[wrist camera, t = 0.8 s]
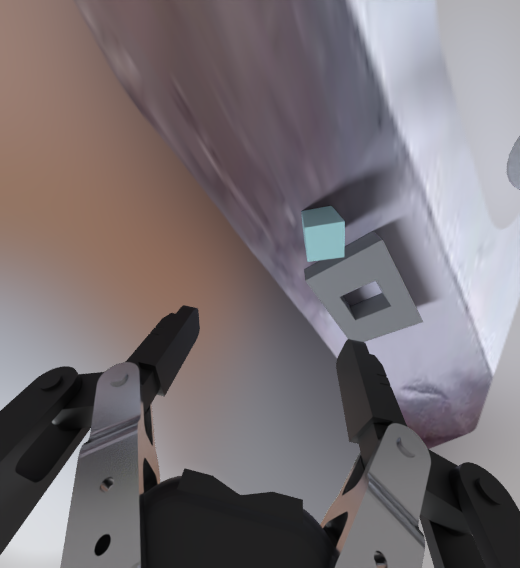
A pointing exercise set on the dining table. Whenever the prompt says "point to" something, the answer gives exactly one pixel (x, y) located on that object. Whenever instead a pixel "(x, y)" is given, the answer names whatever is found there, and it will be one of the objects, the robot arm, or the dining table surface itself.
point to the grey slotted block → (354, 274)
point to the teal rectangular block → (323, 233)
